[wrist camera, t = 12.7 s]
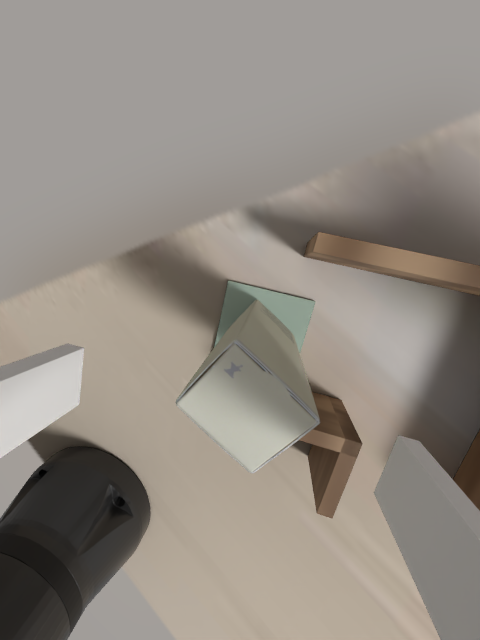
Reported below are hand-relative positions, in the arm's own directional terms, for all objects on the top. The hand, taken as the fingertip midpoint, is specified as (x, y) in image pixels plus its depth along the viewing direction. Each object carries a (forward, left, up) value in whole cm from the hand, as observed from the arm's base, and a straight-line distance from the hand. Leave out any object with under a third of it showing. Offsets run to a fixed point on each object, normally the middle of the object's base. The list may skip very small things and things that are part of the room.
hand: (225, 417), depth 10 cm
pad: (0, 0, -14) cm, 14 cm away
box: (+1, 0, -13) cm, 13 cm away
